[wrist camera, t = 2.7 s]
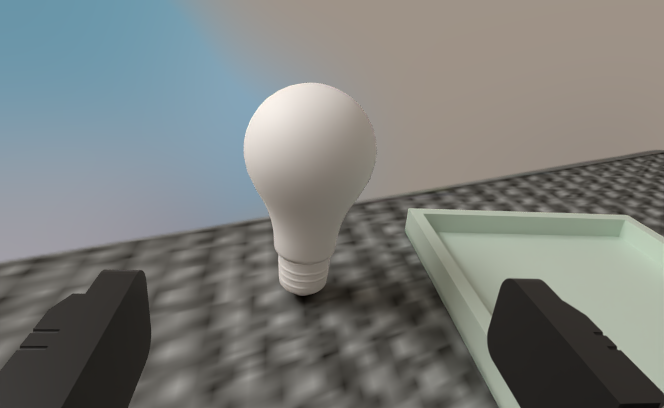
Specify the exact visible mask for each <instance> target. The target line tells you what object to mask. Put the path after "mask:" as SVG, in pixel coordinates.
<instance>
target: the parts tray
mask: <svg viewBox="0 0 664 408" xmlns="http://www.w3.org/2000/svg"><path fill="white" fill-rule="evenodd" d="M405 232H406V234H407V236H408V238H409V240H410V242H411V244H412V246H413V247H414V249H415V251H416V253H417V255H418V257H419V259H420V261H421V262H422V264H423V266H424V268H425V270H426V272H427V274H428V276H429V277H430V279H431V281H432V283H433V285H434V287H435V289H436V291H437V292H438V294H439V296H440V298H441V300H442V302H443V304H444V306H445V307H446V309H447V311H448V313H449V315H450V317H451V319H452V321H453V322H454V324H455V326H456V328H457V330H458V332H459V334H460V336H461V337H462V339H463V341H464V343H465V345H466V347H467V349H468V351H469V352H470V354H471V356H472V358H473V360H474V362H475V364H476V366H477V367H478V369H479V371H480V373H481V375H482V377H483V379H484V381H485V382H486V384H487V386H488V388H489V390H490V392H491V394H492V396H493V397H494V399H495V401H496V403H497V405H498V407H499V408H520V406H519V404H518V403H517V401H516V399H515V398H514V396H513V394H512V393H511V391H510V389H509V388H508V386H507V384H506V382H505V381H504V379H503V377H502V376H501V374H500V372H499V371H498V369H497V367H496V366H495V364H494V362H493V361H492V359H491V357H490V354H489V351H488V345H487V333H488V328H489V325H490V321H491V318H492V314H493V311H494V307H495V304H496V300H497V297H498V293H499V290H500V287H501V284H502V282H503V281H504V280H505V279H507V278H523V279H541V280H543V281H544V282H545V283H546V284H547V285H548V286H549V287H550V288H551V289H552V290H553V291H554V292H555V293H556V294H557V295H558V296H559V297H560V298H561V299H562V301H565V302H566V303H568V304H569V305H571V306H573V307H574V308H576V309H577V310H579V311H580V312H582V313H584V314H585V315H587V316H588V317H589V318H590V320H591V321H592V322H593V323H594V324H595V325H596V326H597V327H598V328H599V329H600V330H601V331H602V332H603V335H606V336H607V337H608V338H609V339H610V340H611V341H612V342H613V343H614V344H615V345H616V346H617V349H618V350H621V351H622V352H623V353H624V354H625V355H626V356H627V357H628V358H629V359H630V360H631V361H632V362H633V363H634V364H635V365H636V366H637V367H638V368H639V369H640V370H641V371H642V372H643V373H644V374H645V375H646V376H647V377H648V378H649V379H650V380H651V381H652V382H653V383H654V384H655V385H656V386H657V387H658V388H659V389H660V390H661V391H662V392H663V393H664V237H663V236H661V235H659V234H658V233H656V232H654V231H653V230H651V229H649V228H648V227H646V226H644V225H643V224H641V223H639V222H638V221H636V220H635V219H633V218H631V217H630V216H628V215H607V214H575V213H542V212H510V211H478V210H446V209H413V208H409V209H408V215H407V221H406V227H405Z"/></svg>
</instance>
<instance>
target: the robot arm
mask: <svg viewBox="0 0 664 408" xmlns="http://www.w3.org/2000/svg"><path fill="white" fill-rule="evenodd" d="M150 343H151V324H150V314H149V303H148V293H147V283H146V277H145V273H144V272H143V271H142V270H103V271H101V273H100V274H99V275H98V277H97V278H96V280H95V281H94V282H93V284H92V285H91V287H90V288H89V289H88V291H87V292H86V294H72V295H70V296H69V297H67V298H66V299H64V300H63V301H61V302H60V303H58V304H57V305H55V306H54V307H52V308H51V309H49V310H48V311H47V313H46V314H45V315H44V316H43V318H42V319H41V320H40V321H39V323H38V324H37V325H36V327H35V328H34V329H33V333H30V334H29V335H28V337H27V338H26V339H25V340H24V342H23V343H22V344H21V345H20V350H16V352H15V353H14V354H13V356H12V357H11V358H10V359H9V361H8V362H7V363H6V364H5V366H4V367H3V368H2V369H1V371H0V408H128V406H129V403H130V401H131V398H132V396H133V393H134V391H135V388H136V386H137V383H138V381H139V378H140V376H141V373H142V371H143V368H144V366H145V363H146V360H147V357H148V354H149V349H150ZM487 345H488V351H489V354H490V357H491V359H492V361H493V362H494V364H495V366H496V367H497V369H498V371H499V372H500V374H501V376H502V377H503V379H504V381H505V382H506V384H507V386H508V388H509V389H510V391H511V393H512V394H513V396H514V398H515V399H516V401H517V403H518V404H519V406H520V408H664V393H663V392H662V391H661V390H660V389H659V388H658V387H657V386H656V385H655V384H654V383H653V382H652V381H651V380H650V379H649V378H648V377H647V376H646V375H645V374H644V373H643V372H642V371H641V370H640V369H639V368H638V367H637V366H636V365H635V364H634V363H633V362H632V361H631V360H630V359H629V358H628V357H627V356H626V355H625V354H624V353H623V352H622V351H621V350H618V349H617V346H616V345H615V344H614V343H613V342H612V341H611V340H610V339H609V338H608V337H607V336H606V335H603V332H602V331H601V330H600V329H599V328H598V327H597V326H596V325H595V324H594V323H593V322H592V321H591V320H590V318H589V317H588V316H587V315H585V314H584V313H582V312H580V311H579V310H577V309H576V308H574V307H573V306H571V305H569V304H568V303H566V302H565V301H562V299H561V298H560V297H559V296H558V295H557V294H556V293H555V292H554V291H553V290H552V289H551V288H550V287H549V286H548V285H547V284H546V283H545V282H544V281H543V280H541V279H523V278H507V279H505V280H504V281H503V282H502V284H501V287H500V290H499V293H498V297H497V300H496V304H495V307H494V311H493V314H492V318H491V321H490V325H489V328H488V333H487Z"/></svg>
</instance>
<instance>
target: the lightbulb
mask: <svg viewBox="0 0 664 408" xmlns="http://www.w3.org/2000/svg"><path fill="white" fill-rule="evenodd" d="M376 155H377V147H376V138H375V134H374V130H373V127H372V125H371V123H370V121H369V119H368V117H367V115H366V113H365V112H364V110H363V109H362V108H361V106H360V105H359V104H358V103H357V102H356V101H355V100H353V99H352V98H351V97H350V96H348V95H347V94H345V93H344V92H342V91H341V90H339V89H337V88H334V87H331V86H328V85H325V84H320V83H301V84H296V85H291V86H288V87H286V88H284V89H281V90H279V91H277V92H276V93H274V94H273V95H271V96H270V97H268V98H267V99H266V100H265V101H264V102H263V103H262V104H261V105H260V106H259V108H258V109H257V111H256V112H255V114H254V115H253V117H252V118H251V120H250V122H249V125H248V127H247V130H246V135H245V140H244V158H245V163H246V167H247V171H248V174H249V176H250V178H251V180H252V182H253V184H254V186H255V188H256V190H257V192H258V193H259V195H260V196H261V198H262V200H263V201H264V203H265V205H266V207H267V210H268V212H269V215H270V218H271V220H272V226H273V231H274V246H275V250H276V251H277V253H278V254H279V258H278V261H279V281H280V284H281V285H282V286H283V287H284V288H285V289H286V290H287V291H289V292H291V293H294V294H297V295H300V296H306V295H309V294H313V293H316V292H318V291H320V290H321V289H322V288H323V287H324V286H325V284H326V280H327V274H328V268H329V260H330V256H331V255H332V254H333V253H334V250H335V247H336V241H337V235H338V232H339V229H340V226H341V223H342V221H343V219H344V217H345V215H346V214H347V212H348V210H349V209H350V207H351V206H352V205H353V204H354V202H355V201H356V200H357V198H358V197H359V195H360V194H361V193H362V191H363V190H364V188H365V186H366V185H367V183H368V182H369V180H370V177H371V174H372V172H373V169H374V166H375V163H376Z"/></svg>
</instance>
